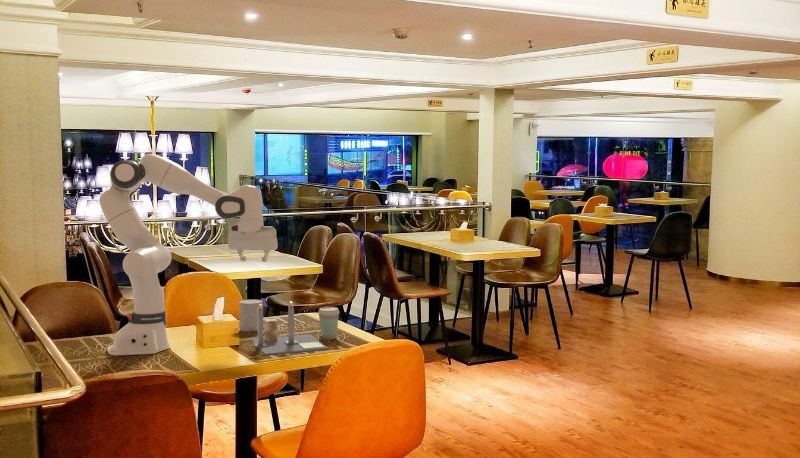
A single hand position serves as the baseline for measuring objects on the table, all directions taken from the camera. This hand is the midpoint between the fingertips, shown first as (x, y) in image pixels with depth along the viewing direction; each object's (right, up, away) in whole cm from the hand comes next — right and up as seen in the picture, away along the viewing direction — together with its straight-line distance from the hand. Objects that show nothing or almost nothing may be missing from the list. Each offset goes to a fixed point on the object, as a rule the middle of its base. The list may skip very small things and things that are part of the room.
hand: (253, 261), depth 326 cm
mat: (+15, -32, -6) cm, 36 cm away
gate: (+10, -33, -8) cm, 35 cm away
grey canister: (-5, -30, +20) cm, 36 cm away
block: (+7, -31, 0) cm, 32 cm away
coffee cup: (+29, -31, +7) cm, 43 cm away
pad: (+24, -33, -10) cm, 42 cm away
